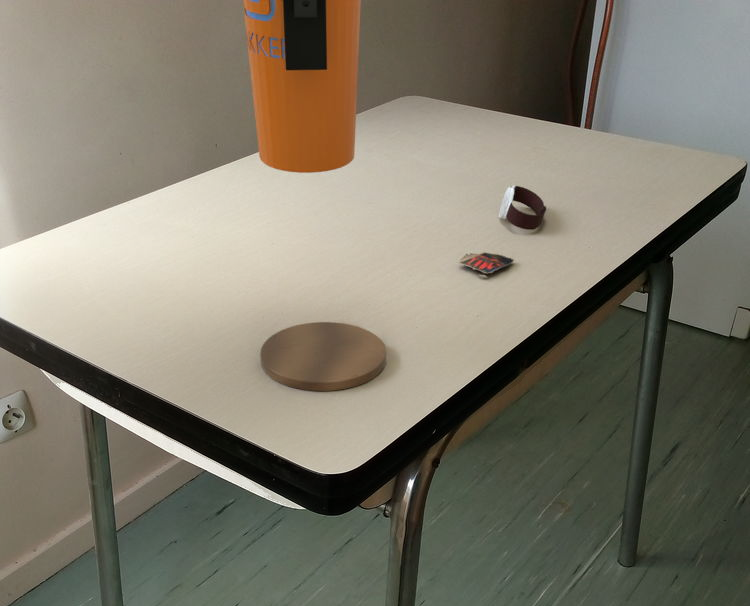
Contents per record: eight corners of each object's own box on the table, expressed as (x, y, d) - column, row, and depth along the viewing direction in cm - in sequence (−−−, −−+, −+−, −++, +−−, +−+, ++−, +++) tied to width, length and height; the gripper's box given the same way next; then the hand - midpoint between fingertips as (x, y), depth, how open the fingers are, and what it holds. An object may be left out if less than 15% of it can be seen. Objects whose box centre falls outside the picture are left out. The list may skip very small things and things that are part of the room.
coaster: (261, 393, 76) (260, 384, 76) (260, 332, 84) (260, 323, 84) (392, 388, 77) (392, 379, 76) (379, 328, 85) (380, 319, 84)
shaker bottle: (308, 131, 80) (299, -171, 68) (391, 157, 75) (398, -164, 63) (221, 157, 75) (195, -165, 63) (305, 187, 70) (294, -157, 58)
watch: (497, 206, 108) (500, 172, 105) (541, 207, 107) (545, 173, 105) (500, 234, 101) (503, 198, 99) (547, 235, 101) (551, 200, 99)
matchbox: (516, 260, 96) (516, 255, 96) (494, 280, 92) (495, 275, 92) (471, 251, 98) (471, 246, 97) (448, 270, 94) (448, 265, 94)
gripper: (227, -361, 65) (250, 18, 79) (218, -399, 48) (248, 94, 61) (343, -358, 66) (345, 17, 79) (375, -395, 49) (371, 92, 62)
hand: (303, 50), depth 70 cm, fingers closed on shaker bottle, 9 cm apart
